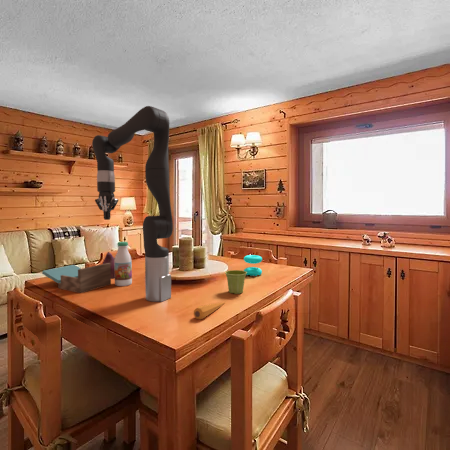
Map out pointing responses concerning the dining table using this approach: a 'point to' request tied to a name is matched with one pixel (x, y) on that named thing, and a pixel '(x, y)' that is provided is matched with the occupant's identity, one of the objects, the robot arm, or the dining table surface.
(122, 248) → the milk bottle
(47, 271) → the teal card
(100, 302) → the dining table surface
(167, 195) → the robot arm
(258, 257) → the donuts
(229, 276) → the plant pot
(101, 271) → the wooden box
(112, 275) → the vegetable
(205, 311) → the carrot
